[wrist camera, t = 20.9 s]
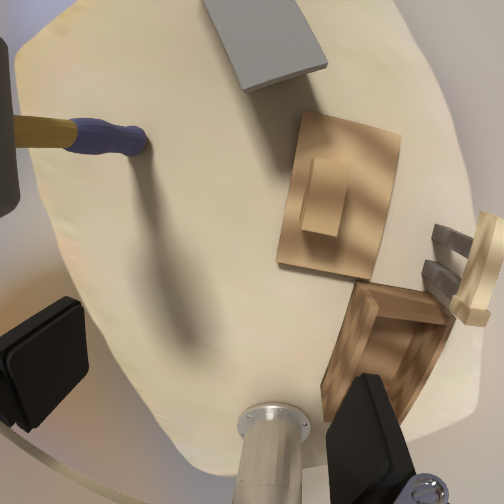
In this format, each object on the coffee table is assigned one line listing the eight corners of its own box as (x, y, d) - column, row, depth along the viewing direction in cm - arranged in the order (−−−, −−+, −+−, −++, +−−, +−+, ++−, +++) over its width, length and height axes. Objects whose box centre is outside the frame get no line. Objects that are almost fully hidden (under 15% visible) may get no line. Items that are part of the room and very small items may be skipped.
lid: (365, 273, 37) (383, 299, 30) (276, 256, 38) (273, 279, 30) (395, 137, 32) (421, 130, 24) (301, 114, 33) (306, 98, 25)
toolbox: (388, 391, 42) (403, 432, 33) (320, 385, 42) (324, 430, 33) (450, 228, 34) (489, 245, 25) (373, 207, 35) (400, 221, 26)
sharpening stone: (193, -24, 28) (169, -65, 18) (244, -42, 27) (232, -86, 16) (255, 112, 33) (242, 89, 23) (316, 92, 32) (328, 62, 21)
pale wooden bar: (468, 311, 27) (485, 327, 23) (448, 308, 27) (464, 325, 23) (496, 217, 24) (518, 224, 20) (477, 209, 24) (499, 216, 20)
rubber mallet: (174, 177, 37) (-49, 220, 8) (125, 194, 38) (-80, 255, 9) (153, 90, 34) (-42, 14, 5) (107, 111, 35) (-87, 84, 6)
